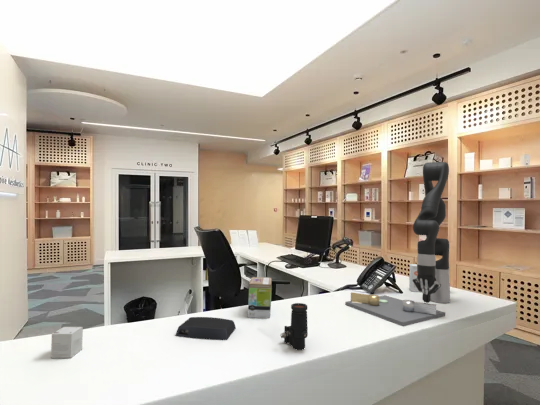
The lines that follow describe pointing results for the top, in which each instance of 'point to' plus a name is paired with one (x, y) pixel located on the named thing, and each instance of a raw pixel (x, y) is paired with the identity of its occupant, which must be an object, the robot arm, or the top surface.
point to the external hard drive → (206, 328)
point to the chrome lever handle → (419, 307)
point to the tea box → (259, 297)
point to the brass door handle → (365, 298)
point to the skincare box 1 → (66, 342)
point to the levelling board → (393, 311)
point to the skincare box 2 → (412, 276)
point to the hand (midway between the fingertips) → (426, 302)
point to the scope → (297, 327)
